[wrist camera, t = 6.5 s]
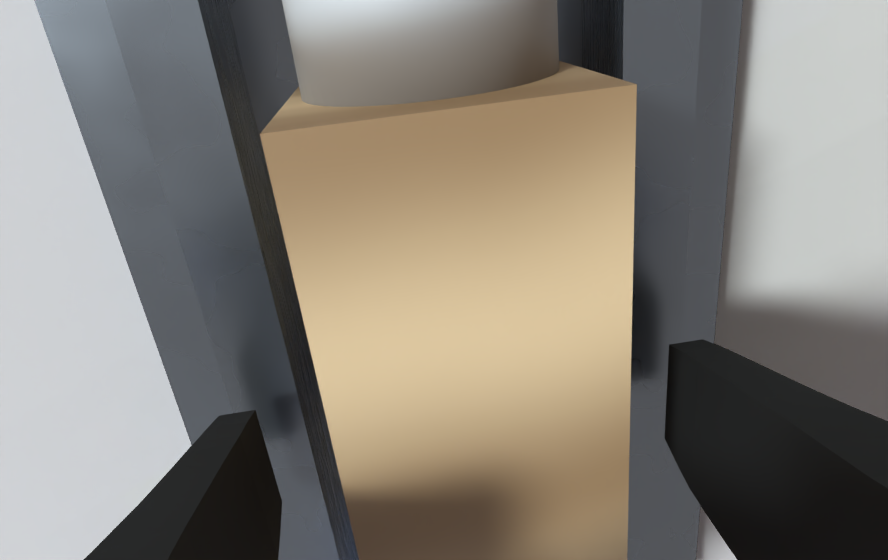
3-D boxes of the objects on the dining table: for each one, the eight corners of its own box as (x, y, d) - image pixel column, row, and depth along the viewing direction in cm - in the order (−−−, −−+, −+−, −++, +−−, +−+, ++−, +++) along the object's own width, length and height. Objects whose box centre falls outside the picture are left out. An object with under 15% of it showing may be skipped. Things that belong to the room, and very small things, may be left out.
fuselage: (551, 536, 16) (657, 844, 10) (399, 563, 16) (418, 893, 10) (520, -76, 10) (725, -182, 4) (279, -48, 10) (156, -121, 4)
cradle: (677, 554, 18) (731, 649, 16) (272, 626, 18) (255, 739, 15) (727, -180, 11) (846, -240, 8) (26, -104, 10) (-97, -143, 7)
